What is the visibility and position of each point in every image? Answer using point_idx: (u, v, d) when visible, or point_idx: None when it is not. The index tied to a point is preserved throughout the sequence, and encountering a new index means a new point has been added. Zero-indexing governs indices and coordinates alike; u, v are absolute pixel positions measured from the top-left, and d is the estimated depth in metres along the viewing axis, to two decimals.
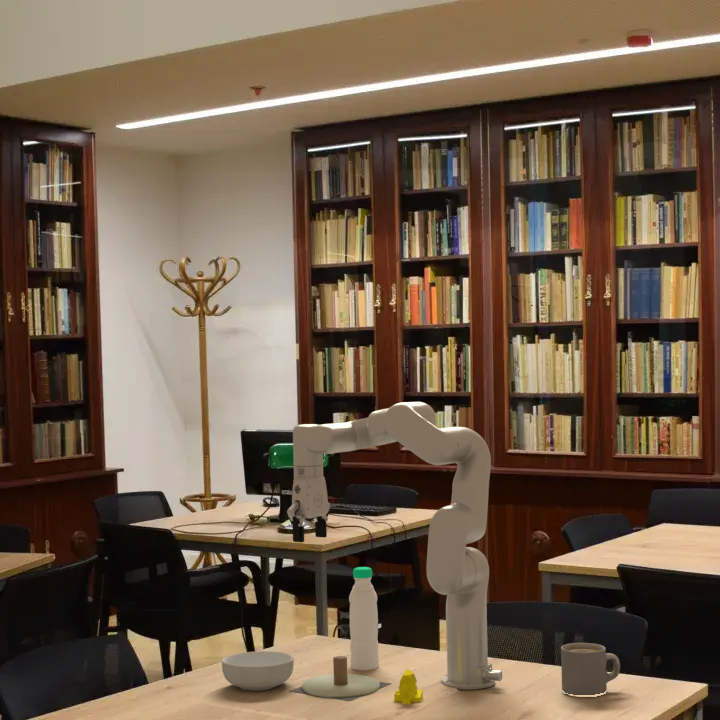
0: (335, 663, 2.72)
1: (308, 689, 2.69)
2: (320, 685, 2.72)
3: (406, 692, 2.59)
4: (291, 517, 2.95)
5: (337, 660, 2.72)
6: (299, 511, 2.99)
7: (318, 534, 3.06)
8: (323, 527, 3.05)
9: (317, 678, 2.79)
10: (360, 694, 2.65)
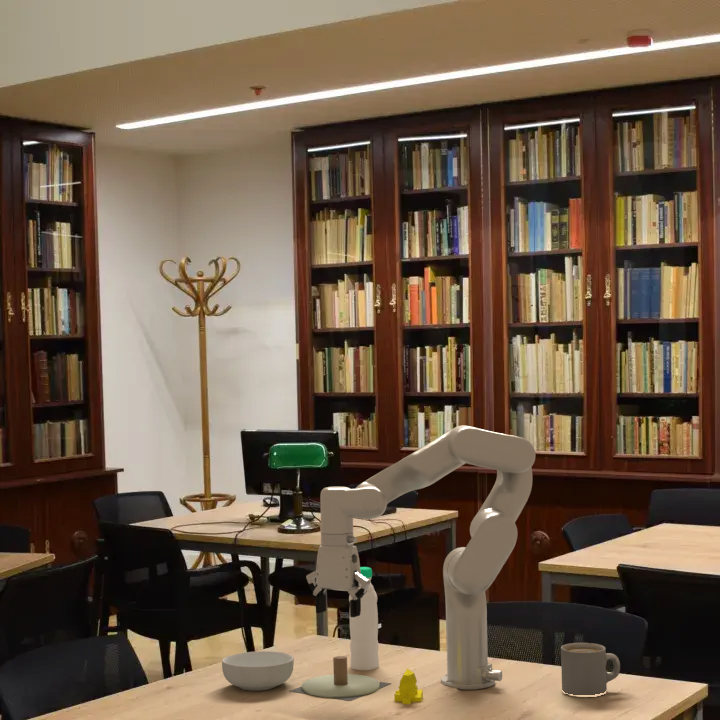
0: (335, 663, 2.72)
1: (308, 689, 2.69)
2: (320, 685, 2.72)
3: (406, 692, 2.60)
4: (366, 589, 2.69)
5: (337, 660, 2.72)
6: None
7: (321, 609, 2.75)
8: (325, 600, 2.77)
9: (317, 678, 2.79)
10: (360, 694, 2.65)
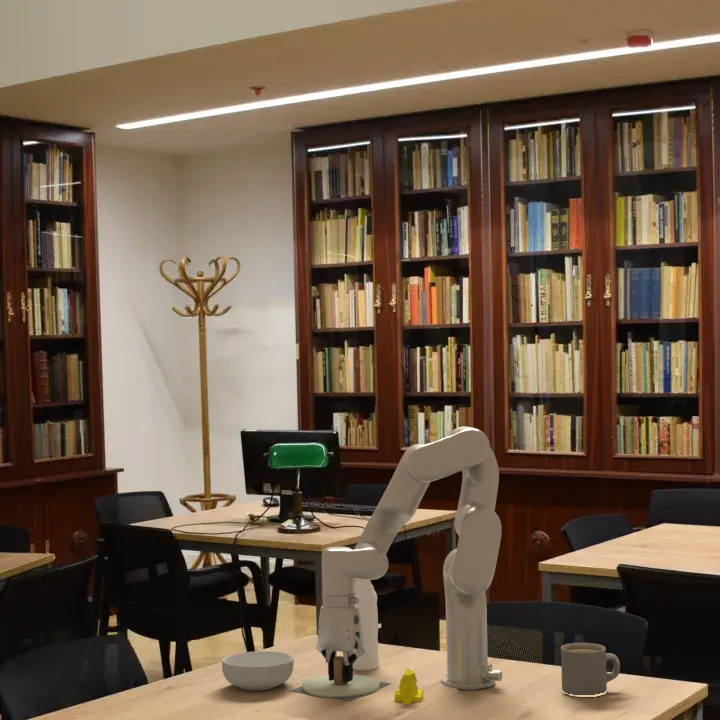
0: (335, 663, 2.72)
1: (308, 689, 2.69)
2: (320, 685, 2.72)
3: (406, 692, 2.60)
4: (358, 656, 2.71)
5: (337, 660, 2.72)
6: None
7: None
8: None
9: (317, 678, 2.79)
10: (360, 694, 2.65)
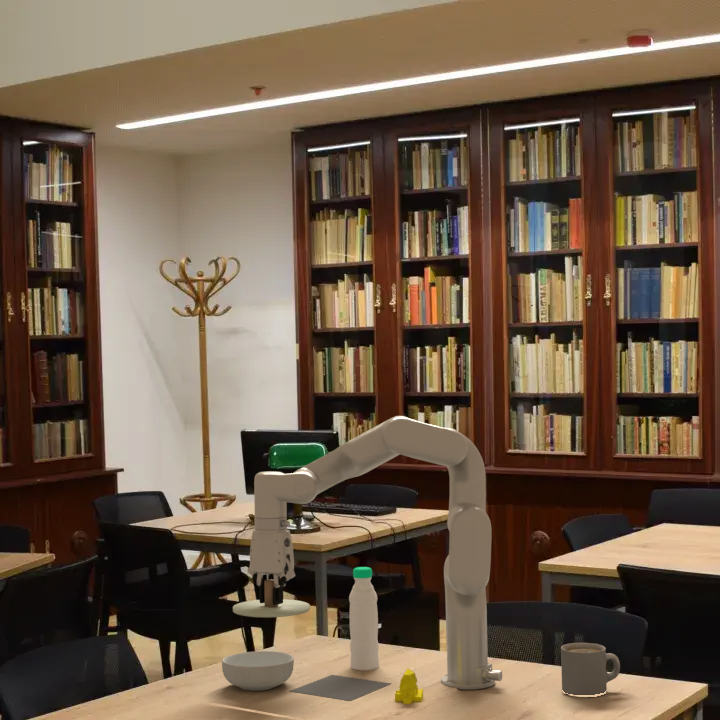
0: (266, 585, 2.75)
1: (238, 610, 2.72)
2: (251, 607, 2.75)
3: (407, 691, 2.60)
4: None
5: (268, 582, 2.75)
6: None
7: None
8: None
9: (249, 602, 2.82)
10: (288, 614, 2.68)
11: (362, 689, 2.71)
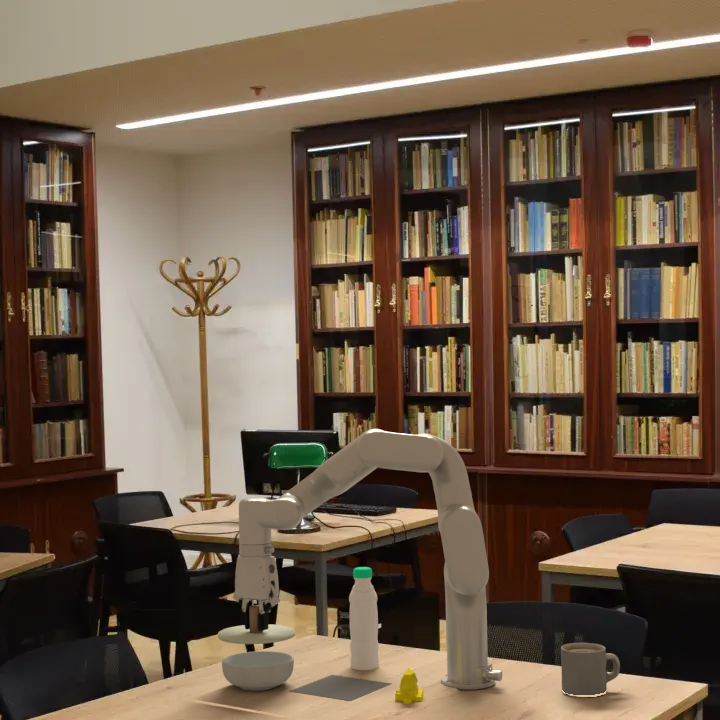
0: (251, 611, 2.76)
1: (223, 636, 2.72)
2: (236, 633, 2.76)
3: (407, 691, 2.60)
4: (273, 605, 2.74)
5: (253, 608, 2.75)
6: None
7: None
8: None
9: (235, 627, 2.82)
10: (273, 641, 2.69)
11: (362, 689, 2.71)
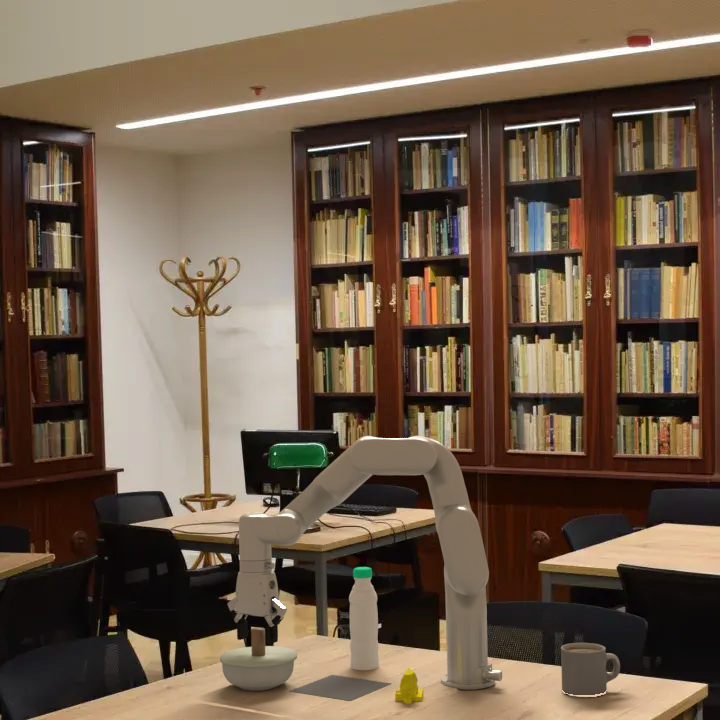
0: (253, 634, 2.76)
1: (225, 659, 2.72)
2: (238, 656, 2.76)
3: (407, 691, 2.60)
4: (283, 616, 2.73)
5: (254, 631, 2.75)
6: None
7: (242, 636, 2.79)
8: (246, 627, 2.80)
9: (237, 650, 2.82)
10: (275, 664, 2.69)
11: (362, 689, 2.71)
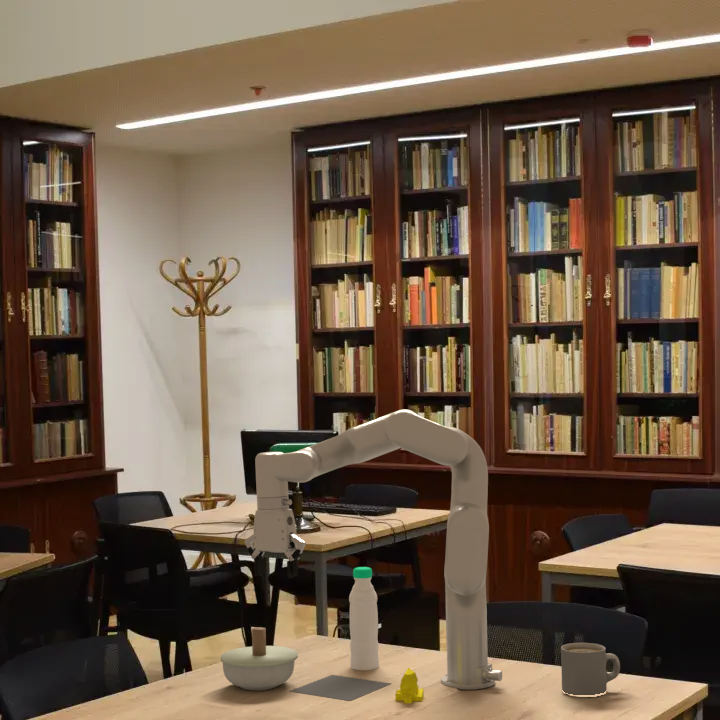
0: (253, 634, 2.76)
1: (226, 659, 2.72)
2: (239, 656, 2.76)
3: (407, 691, 2.60)
4: (302, 549, 2.76)
5: (255, 631, 2.76)
6: None
7: (259, 572, 2.82)
8: (263, 563, 2.84)
9: (237, 649, 2.82)
10: (277, 664, 2.69)
11: (362, 689, 2.71)
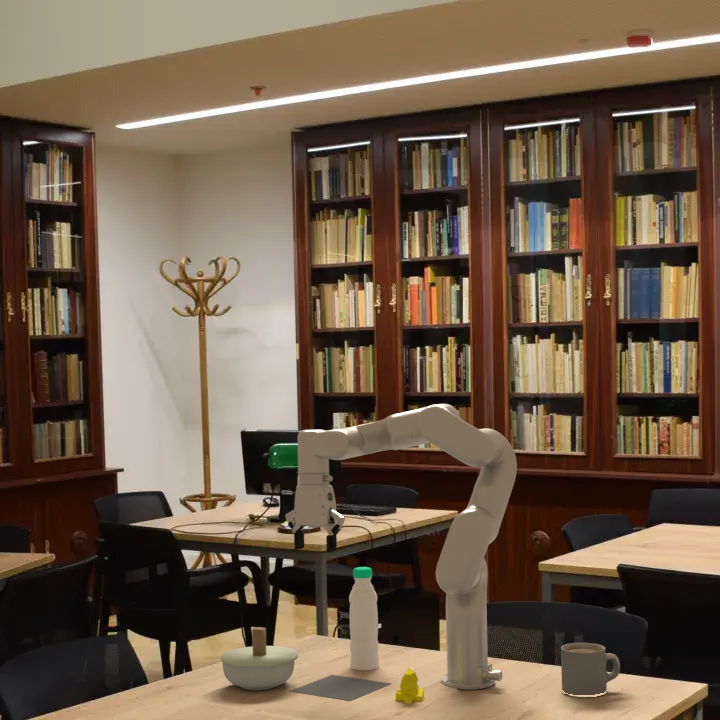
0: (254, 634, 2.76)
1: (226, 659, 2.73)
2: (239, 656, 2.76)
3: (408, 691, 2.60)
4: (341, 525, 2.84)
5: (255, 631, 2.76)
6: None
7: (299, 546, 2.90)
8: (303, 537, 2.92)
9: (237, 649, 2.82)
10: (277, 664, 2.69)
11: (362, 689, 2.71)
